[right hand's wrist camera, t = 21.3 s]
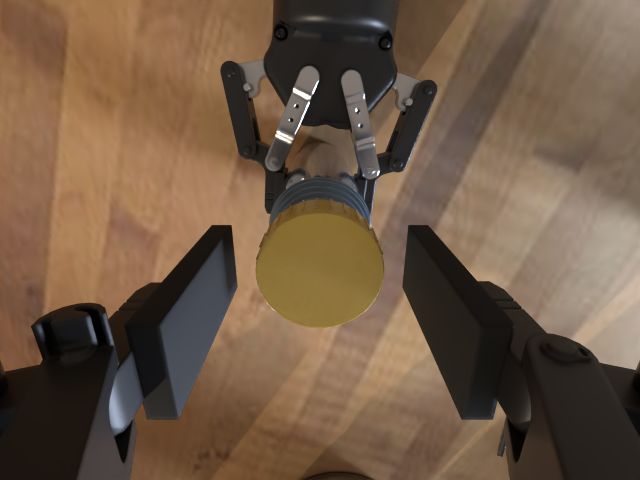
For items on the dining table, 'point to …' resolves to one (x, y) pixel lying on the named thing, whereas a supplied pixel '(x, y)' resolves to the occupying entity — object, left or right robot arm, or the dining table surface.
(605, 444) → the right robot arm
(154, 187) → the dining table surface
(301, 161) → the bottle
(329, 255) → the cap
